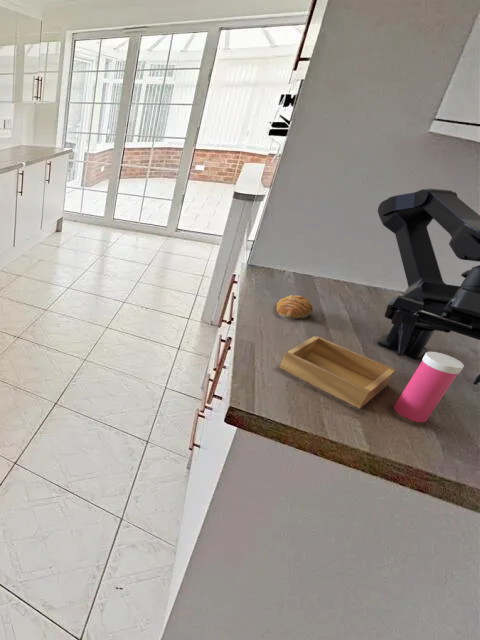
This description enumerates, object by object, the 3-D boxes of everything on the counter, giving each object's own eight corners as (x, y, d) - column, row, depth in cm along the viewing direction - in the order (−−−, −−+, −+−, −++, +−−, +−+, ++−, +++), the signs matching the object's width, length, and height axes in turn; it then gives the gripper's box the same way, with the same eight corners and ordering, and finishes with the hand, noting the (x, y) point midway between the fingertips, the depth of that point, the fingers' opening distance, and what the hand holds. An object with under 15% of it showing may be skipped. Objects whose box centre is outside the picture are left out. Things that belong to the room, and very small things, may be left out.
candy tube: (395, 404, 72) (430, 348, 67) (428, 420, 69) (467, 362, 64) (387, 413, 70) (422, 356, 65) (420, 429, 67) (459, 371, 62)
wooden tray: (307, 352, 86) (315, 335, 84) (385, 388, 76) (396, 369, 74) (277, 370, 80) (285, 352, 78) (358, 412, 70) (369, 392, 68)
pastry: (300, 325, 95) (306, 311, 94) (267, 314, 100) (273, 300, 99) (312, 313, 101) (318, 300, 99) (280, 303, 106) (285, 290, 104)
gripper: (416, 254, 73) (370, 325, 72) (594, 297, 59) (540, 386, 58) (406, 283, 80) (364, 347, 79) (561, 327, 67) (513, 406, 65)
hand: (435, 368), depth 70 cm, fingers open, 9 cm apart
